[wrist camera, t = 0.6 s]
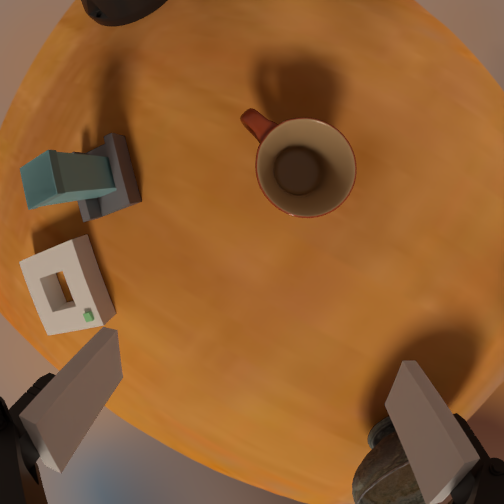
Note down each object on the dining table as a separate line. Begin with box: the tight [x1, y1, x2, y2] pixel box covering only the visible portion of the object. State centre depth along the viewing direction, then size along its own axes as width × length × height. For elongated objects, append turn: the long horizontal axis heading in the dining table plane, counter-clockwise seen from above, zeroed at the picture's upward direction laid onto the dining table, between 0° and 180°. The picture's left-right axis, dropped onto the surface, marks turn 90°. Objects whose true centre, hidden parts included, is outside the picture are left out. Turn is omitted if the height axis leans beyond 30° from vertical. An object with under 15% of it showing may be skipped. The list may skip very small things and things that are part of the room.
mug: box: [240, 108, 356, 218], centre depth 30 cm, size 12×9×10 cm
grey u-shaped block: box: [73, 133, 142, 222], centre depth 34 cm, size 9×7×4 cm
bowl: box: [352, 416, 425, 504], centre depth 36 cm, size 20×19×15 cm
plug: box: [20, 150, 117, 210], centre depth 29 cm, size 4×4×14 cm
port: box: [19, 234, 116, 335], centre depth 37 cm, size 12×12×5 cm
